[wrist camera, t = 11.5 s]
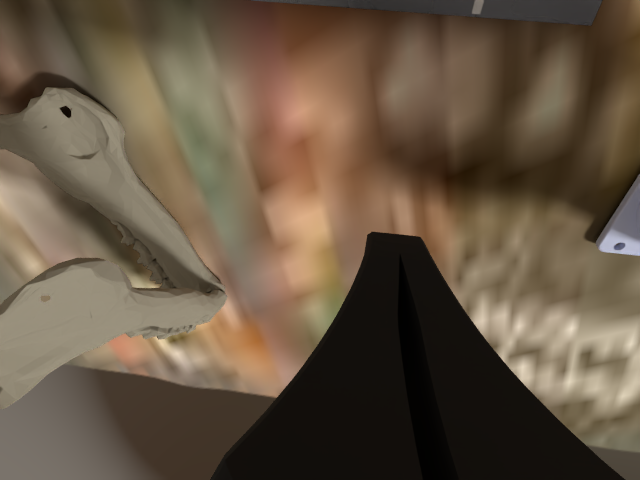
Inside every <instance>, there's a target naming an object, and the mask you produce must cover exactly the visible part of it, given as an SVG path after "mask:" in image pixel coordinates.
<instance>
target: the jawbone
mask: <svg viewBox="0 0 640 480" xmlns="http://www.w3.org/2000/svg"><path fill="white" fill-rule="evenodd" d="M63 106H67V107H68V108H69V109H70V108H72V110H71V109H70V110H71V117H70V118H67V117H66V116H65V115H64V114H63V113H62V112H61V110H60V107H63ZM124 136H125V131H124V129H123V127H122V125H121V123H120V122H119V120H118V119H117V118H116V116H114V115H113V114H112V113H111V112H109V111H108V110H107V109H106V108H104V107H103V106H102V105H100V104H99V103H97V102H95V101H93V100H92V99H91V98H89V97H88V96H85V95H83V94H81V93H79V92H78V91H76V90H75V89H74V88H51V87H46V88H45V90H44V92H43V94H42V96H40V97H36V98H32V99H31V100H30V102H29V104H28V107H27V108H25V109H24V110H23V111H22V112H20V113H14V114H6V115H4V114H0V149H6V150H8V151H11V152H13V153H15V154H17V155H19V156H21V157H23V158H25V159H27V160H29V161H31V162H32V163H34V164H35V165H36V167H37V168H38V169H39V170H40V171H41V172H42V173H43V174H44V175H45V176H47V177H48V178H49V179H50V180H51V181H52V182H54V183H55V184H56V185H57V186H59V187H60V188H61V189H62V190H64V191H65V192H67V193H68V194H70V195H71V196H73V197H74V198H76V199H79V200H81V201H84V202H87V203H89V204H90V205H91V206H93V207H94V208H95V209H96V210H97V211H99V212H100V213H101V214H102V215H104V216H105V217H107V218H108V219H110V221H111V223H112V224H114V225H117V229H118V230H119V231H121V233H122V235H123V238H122V240H121V242H120V243H126V244H127V246H128V245H131V244H134V247H133V250H136V251H138V252H139V254H140V258H139V259H138V260H137V263H138V264H143V266H147V265H148V266H147V268H146V269H148V270H151V271H153V273H152V275H151V276H150V278H149V279H150V281H156V284H159V283H162V286H161V287H160V288H133V287H132V285H131V282H130V280H129V278H128V277H127V275H126V274H125V272H124V271H123V270H122V269H121V268H120V267H119V266H118V265H117V264H115V263H112V262H110V261H107V260H103V259H100V258H75V259H72V260H68V261H65V262H62V263H58V264H57V265H55V266H53V267H51V268H49V269H47V270H46V271H44V272H43V273H41V274H40V275H38V276H37V277H35V278H34V279H32V280H31V281H29V282H28V283H27V284H25V285H24V286H22V287H21V288H20V289H18V290H17V291H16V292H15V293H13V294H12V295H11V296H9V297H8V298H7V299H6V300H4V302H3V303H2V304H1V306H0V409H5V408H6V407H8V406H10V405H11V404H13V403H14V402H16V401H18V400H19V399H20V398H21V397H23V396H24V395H25V394H26V393H28V392H29V391H30V390H31V389H32V388H33V387H34V386H35V385H37V384H38V383H39V382H40V381H41V380H42V379H43V378H44V377H45V376H46V375H47V374H49V373H50V372H52V371H53V370H55V369H56V368H58V367H59V366H61V365H63V364H64V363H66V362H68V361H70V360H71V359H73V358H75V357H77V356H79V355H80V354H82V353H84V352H87V351H90V350H92V349H95V348H98V347H100V346H102V345H104V344H105V343H107V342H109V341H110V340H112V339H114V338H116V337H118V336H120V335H122V334H124V333H126V334H127V335H128V336H129V337H134V336H137V335H142V334H143V338H144V339H148V338H151V337H155V336H157V338H158V339H165V338H167V337H169V336H171V335H177V334H178V333H181V332H185V331H187V333H189V332H191V331H193V330H194V329H195V327H196V325H200V324H203V323H206V322H210V321H211V319H212V318H213V316H214V315H215V314H216V313H217V312H218V311H219V310H220V309H221V308H222V307H223V305H224V304H225V302H226V299H227V295H226V294H225V286H224V285H223V284H222V283H221V282H220V281H219V280H218V279H217V278H216V277H215V276H214V275H213V274H212V273H211V272H210V271H209V269H208V268H207V267H206V266H205V264H204V263H203V262H202V260H201V259H200V257H199V256H198V254H197V253H196V251H195V250H194V248H193V246H192V244H191V242H190V241H189V239H188V238H187V236H186V234H185V233H184V231H183V230H182V229H181V227H180V226H179V224H178V223H177V222H176V221H175V220H174V219H173V217H172V216H171V215H170V214H169V212H168V211H167V210H166V209H165V208H164V207H163V205H162V204H161V203H160V202H159V201H158V200H157V199H156V197H155V196H154V195H153V194H152V193H151V192H150V191H149V190H148V188H147V187H146V186H145V185H144V184H143V183H142V182H141V181H140V179H139V178H138V177H137V176H136V174H135V173H134V171H133V169H132V167H131V165H130V163H129V161H128V158H127V155H126V152H125V150H124ZM46 295H50V300H48V301H47V302H43V301H41V296H46Z"/></svg>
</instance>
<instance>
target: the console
mask: <svg viewBox="0 0 640 480" xmlns="http://www.w3.org/2000/svg"><path fill="white" fill-rule="evenodd" d="M253 1H266V2H280V3H293V4H307V5H320V6H334V7H347V8H361V9H374V10H388V11H401V12H415V13H428V14H442V15H455V16H469V17H482V18H496V19H509V20H523V21H536V22H550V23H563V24H577V25H592V23H593V21H594V18H595V16H596V14H597V12H598V9H599V7H600V5H601V2H602V0H253Z"/></svg>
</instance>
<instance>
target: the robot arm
mask: <svg viewBox="0 0 640 480" xmlns="http://www.w3.org/2000/svg"><path fill="white" fill-rule="evenodd" d="M617 243H620V244H618V245H616V244H617ZM596 246H597V247H598V249H599V250H600V251H602V252H609V253H619V254H628V255H638V256H640V174H639V176H638V177H637V179H636V180H635V182H634V183H633V185H632V186H631V188H630V189H629V191H628V193H627V194H626V196H625V197H624V199H623V200H622V202H621V203H620V205H619V207H618V208H617V210H616V211H615V213H614V214H613V216H612V217H611V219H610V220H609V222H608V224H607V225H606V227H605V228H604V230H603V231H602V233H601V234H600V236H599V238H598V239H597V241H596ZM210 480H625V479H624V478H622V477H621V476H620V475H619V474H618V473H617V472H615V471H614V470H613V469H612V468H611V467H609V466H608V465H607V464H606V463H605V462H604V461H602V460H601V459H600V458H599V457H598V456H597V455H596V454H595V453H594V452H593V451H592V450H590V449H589V448H588V447H587V446H586V445H585V444H584V443H583V442H582V441H581V440H579V439H578V438H577V437H576V436H575V435H574V434H573V433H572V432H571V431H570V430H569V429H568V428H566V427H565V426H564V425H563V424H562V423H561V422H560V421H559V420H558V419H557V418H556V417H555V416H554V415H553V414H552V413H551V412H550V411H549V410H548V409H547V408H546V407H545V406H544V405H543V404H542V403H541V402H540V401H539V400H538V399H537V398H536V397H535V396H534V394H533V393H532V392H531V391H530V390H529V389H528V388H527V387H526V386H525V385H524V384H523V383H522V382H521V381H520V380H519V379H518V378H517V376H516V375H515V374H514V373H513V372H512V371H511V370H510V369H509V367H508V366H507V365H506V364H505V363H504V362H503V360H502V359H501V358H500V357H499V356H498V354H497V353H496V352H495V351H494V350H493V348H492V347H491V346H490V345H489V343H488V342H487V341H486V339H485V338H484V337H483V335H482V334H481V333H480V332H479V330H478V329H477V327H476V326H475V325H474V323H473V322H472V321H471V319H470V318H469V316H468V315H467V314H466V312H465V311H464V309H463V308H462V306H461V305H460V303H459V302H458V300H457V299H456V297H455V295H454V294H453V292H452V291H451V289H450V288H449V286H448V284H447V283H446V281H445V280H444V278H443V276H442V274H441V273H440V271H439V269H438V268H437V266H436V264H435V262H434V260H433V259H432V257H431V255H430V253H429V251H428V249H427V247H426V245H425V243H424V241H423V240H422V239H421V237H418V236H408V235H399V234H389V233H380V232H371V233H370V234H368V235H367V241H366V247H365V253H364V257H363V260H362V263H361V266H360V268H359V271H358V273H357V275H356V278H355V280H354V282H353V285H352V287H351V289H350V291H349V293H348V295H347V297H346V299H345V301H344V302H343V304H342V306H341V308H340V310H339V312H338V314H337V315H336V317H335V319H334V320H333V322H332V324H331V325H330V327H329V329H328V330H327V332H326V333H325V335H324V336H323V338H322V339H321V341H320V342H319V344H318V345H317V347H316V348H315V350H314V351H313V352H312V354H311V355H310V357H309V358H308V359H307V361H306V362H305V364H304V365H303V366H302V368H301V369H300V370H299V372H298V373H297V374H296V375H295V377H294V378H293V379H292V380H291V382H290V383H289V384H288V385H287V386H286V388H285V389H284V390H283V391H282V392H281V394H280V395H279V396H278V397H277V398H276V400H275V401H274V402H273V403H272V404H271V406H270V407H269V408H268V409H267V410H266V411H265V413H264V414H263V415H262V416H261V417H260V418H259V419H258V420H257V421H256V422H255V424H253V426H251V428H250V429H249V430H248V431H247V432H246V433H245V434H244V435H243V436H242V437H241V438H240V439H239V440H238V441H237V442H236V443H235V444H234V445H233V446H232V448H231V449H230V450H229V451H228V452H227V453H226V454H225V455H224V457H223V459H222V461H221V462H220V464H219V465H218V467H217V469H216V471H215V472H214V474H213V476H212V477H211V479H210Z"/></svg>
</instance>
